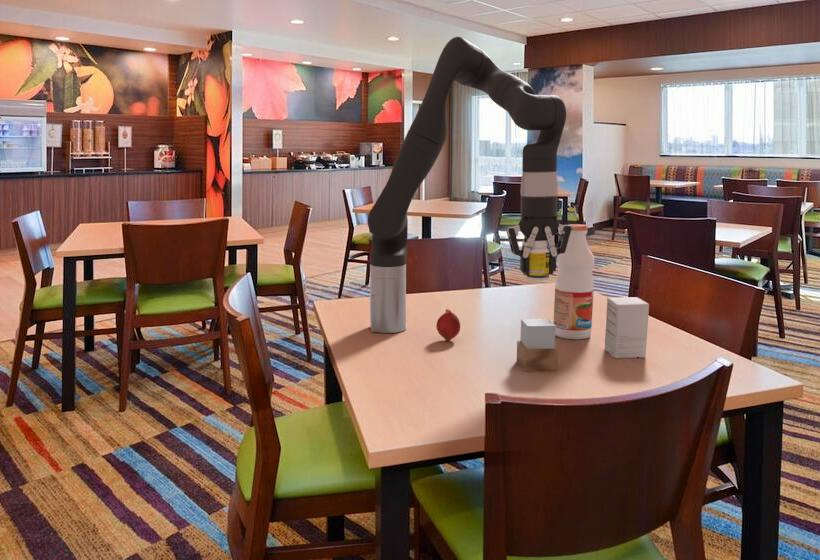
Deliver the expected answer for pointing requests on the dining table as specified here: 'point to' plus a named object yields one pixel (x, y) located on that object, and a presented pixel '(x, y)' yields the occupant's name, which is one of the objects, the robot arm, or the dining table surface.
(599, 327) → the dining table surface
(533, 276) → the supplement bottle
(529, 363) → the bottom block
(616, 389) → the dining table surface
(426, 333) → the dining table surface
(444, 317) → the onion
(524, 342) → the top block
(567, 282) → the fruit juice
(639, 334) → the supplement box
